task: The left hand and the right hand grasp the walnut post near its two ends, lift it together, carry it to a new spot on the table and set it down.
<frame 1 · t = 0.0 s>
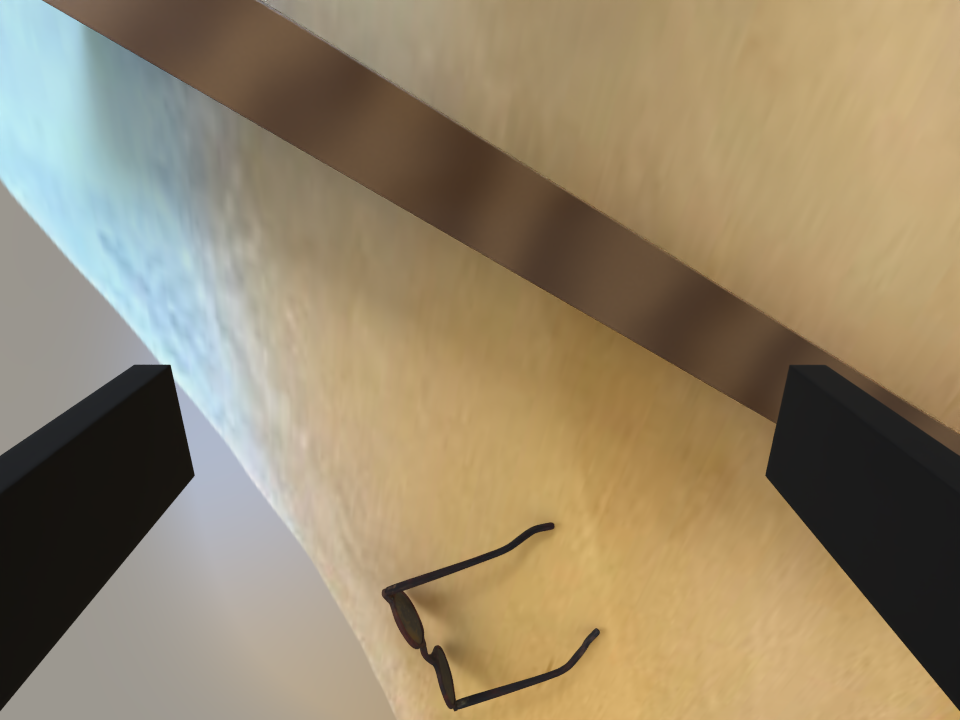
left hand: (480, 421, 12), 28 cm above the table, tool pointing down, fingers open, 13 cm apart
post: (644, 282, 40), on the table
eyeglasses: (498, 600, 51), on the table
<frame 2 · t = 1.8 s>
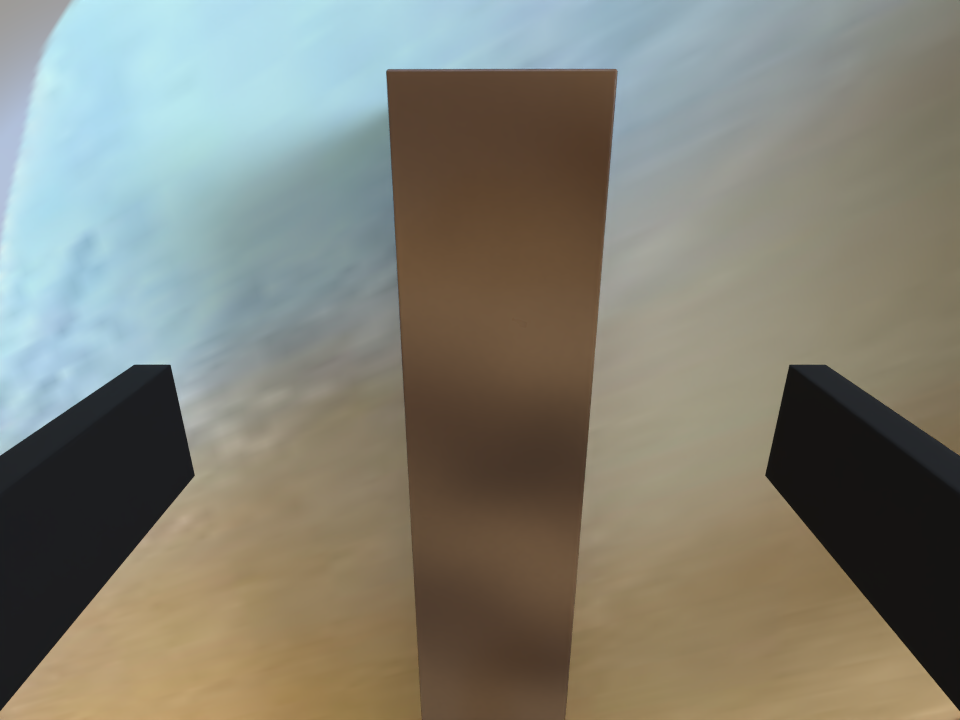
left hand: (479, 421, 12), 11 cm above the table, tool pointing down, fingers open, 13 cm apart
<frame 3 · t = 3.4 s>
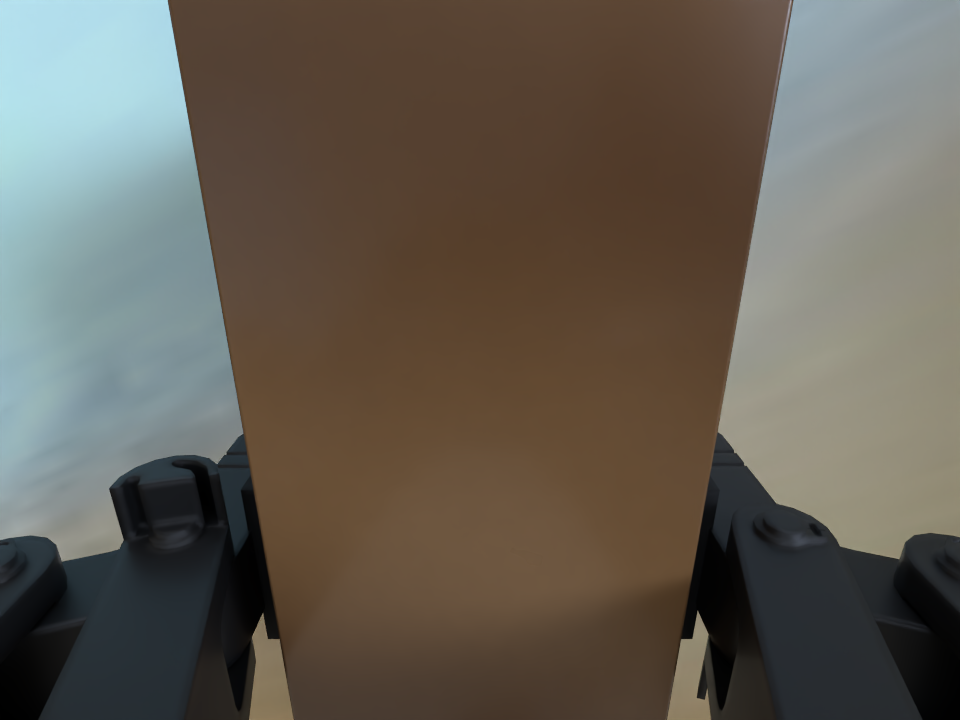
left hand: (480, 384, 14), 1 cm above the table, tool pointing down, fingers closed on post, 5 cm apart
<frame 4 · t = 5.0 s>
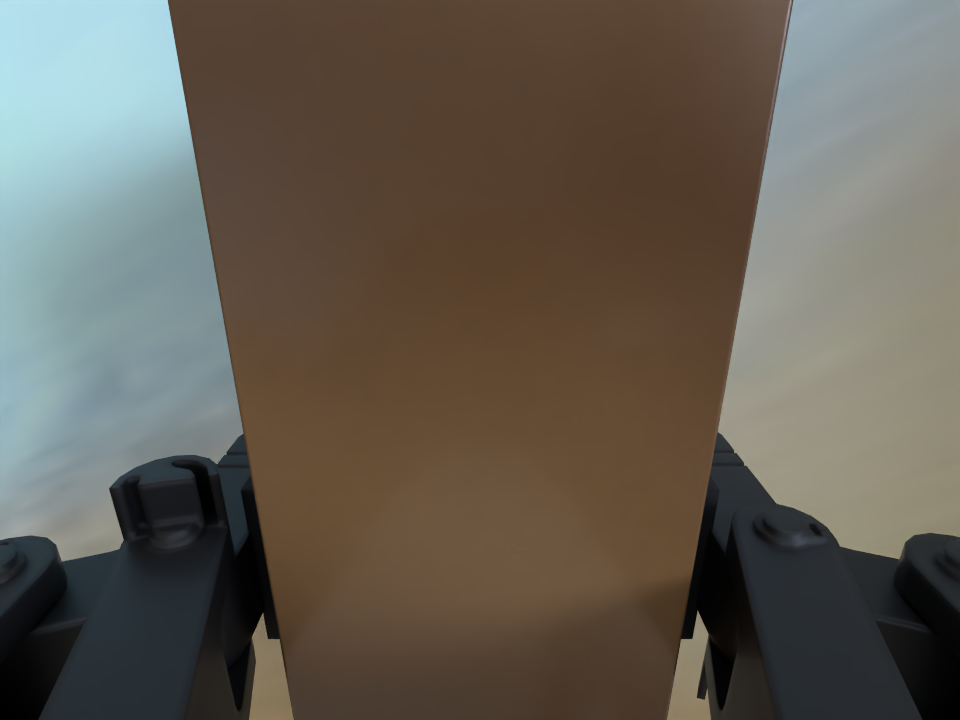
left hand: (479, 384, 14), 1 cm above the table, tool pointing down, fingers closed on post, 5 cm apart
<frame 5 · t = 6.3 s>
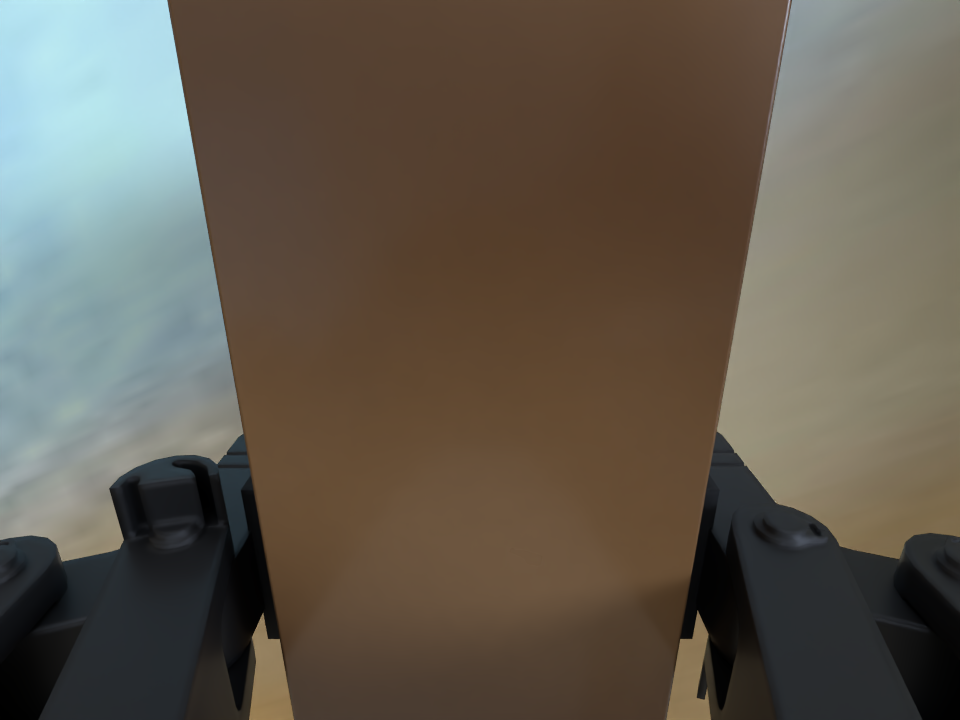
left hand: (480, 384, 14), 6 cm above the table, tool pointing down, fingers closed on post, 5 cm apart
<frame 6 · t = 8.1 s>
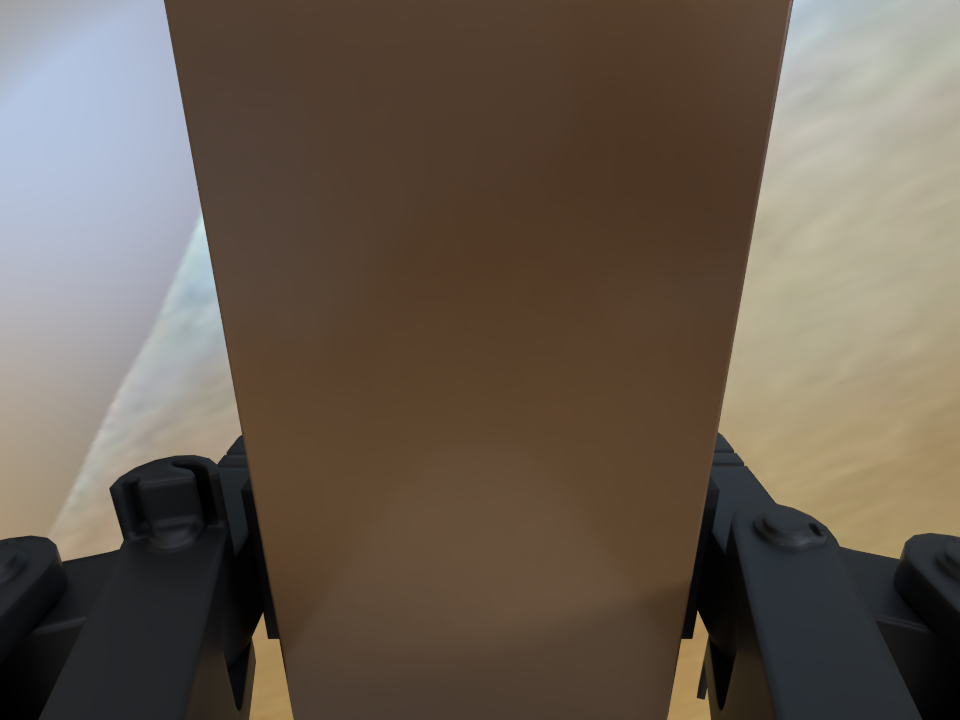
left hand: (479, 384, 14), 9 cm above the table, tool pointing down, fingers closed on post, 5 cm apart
when the left hand's fingers open (2 cm above the table, at t = 9.4 s): post drops 2 cm, on the table.
when the right hand's fingers open (5 cm above the table, at t = 9.5 s): post stays where it is, on the table.
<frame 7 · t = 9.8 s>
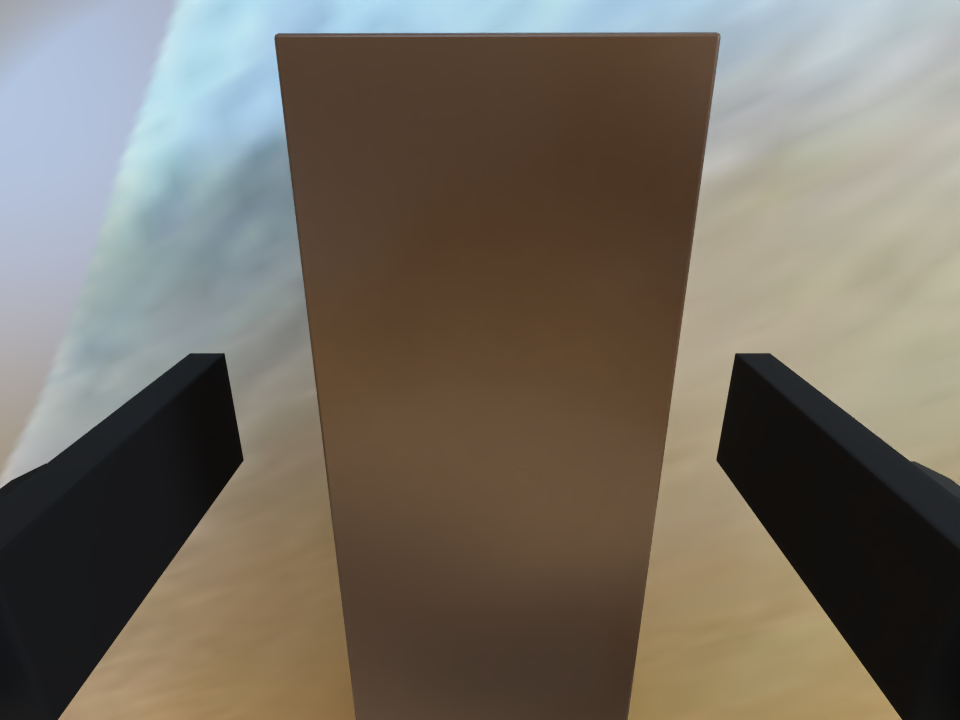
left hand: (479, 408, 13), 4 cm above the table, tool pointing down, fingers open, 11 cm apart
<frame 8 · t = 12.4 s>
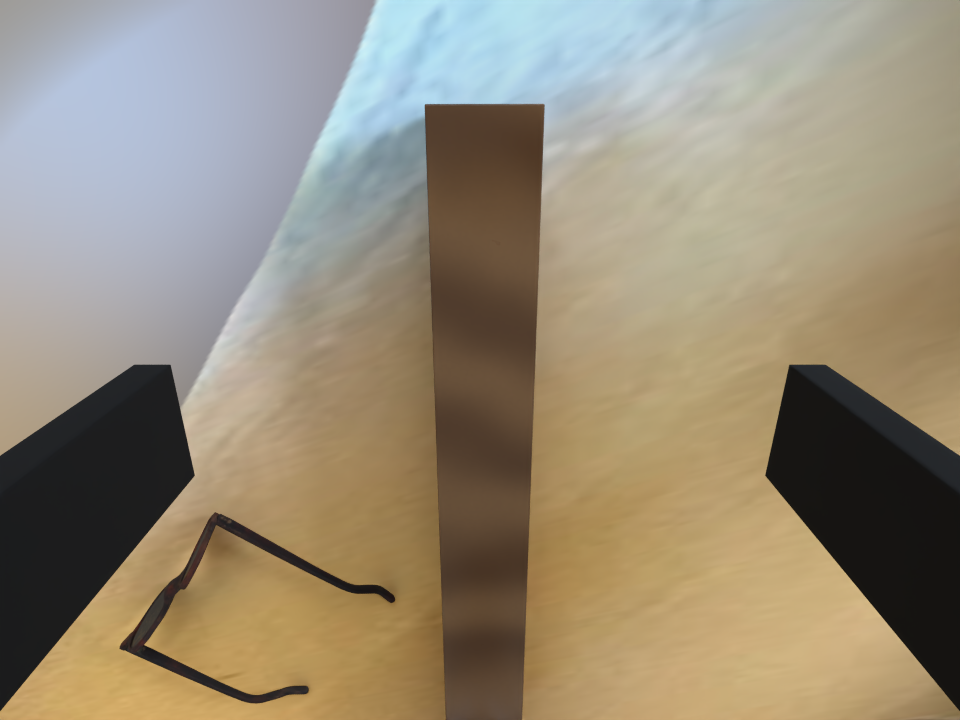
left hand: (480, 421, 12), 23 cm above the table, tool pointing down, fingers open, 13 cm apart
post: (483, 637, 46), on the table
eyeglasses: (271, 600, 45), on the table
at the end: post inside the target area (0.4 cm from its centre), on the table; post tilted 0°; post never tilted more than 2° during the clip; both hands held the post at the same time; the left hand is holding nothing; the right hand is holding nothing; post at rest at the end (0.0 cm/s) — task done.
